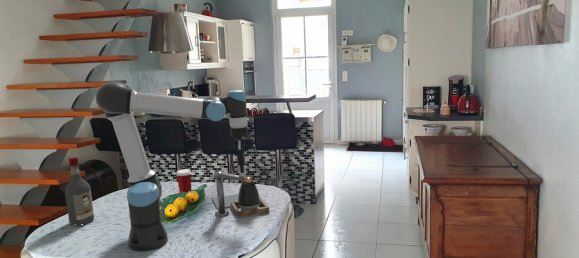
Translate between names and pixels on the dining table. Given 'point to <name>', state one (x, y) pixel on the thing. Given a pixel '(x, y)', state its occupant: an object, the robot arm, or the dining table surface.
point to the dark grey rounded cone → (248, 196)
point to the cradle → (252, 211)
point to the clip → (232, 176)
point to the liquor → (78, 197)
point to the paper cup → (184, 180)
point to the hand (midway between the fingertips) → (243, 179)
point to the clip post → (220, 198)
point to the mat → (226, 200)
